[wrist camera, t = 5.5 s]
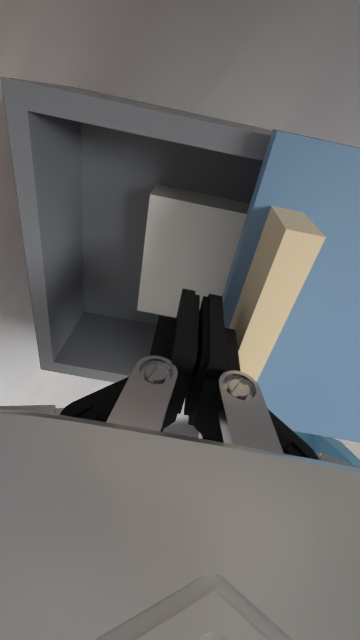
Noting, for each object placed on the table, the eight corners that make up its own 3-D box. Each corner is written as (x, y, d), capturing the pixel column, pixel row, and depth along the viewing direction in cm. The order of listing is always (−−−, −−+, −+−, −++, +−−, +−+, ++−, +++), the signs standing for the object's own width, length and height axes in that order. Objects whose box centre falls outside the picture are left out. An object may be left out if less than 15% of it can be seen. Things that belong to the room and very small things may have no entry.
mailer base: (412, 161, 16) (504, 186, 11) (301, 355, 24) (326, 419, 19) (68, 86, 15) (0, 77, 10) (76, 313, 23) (40, 369, 18)
